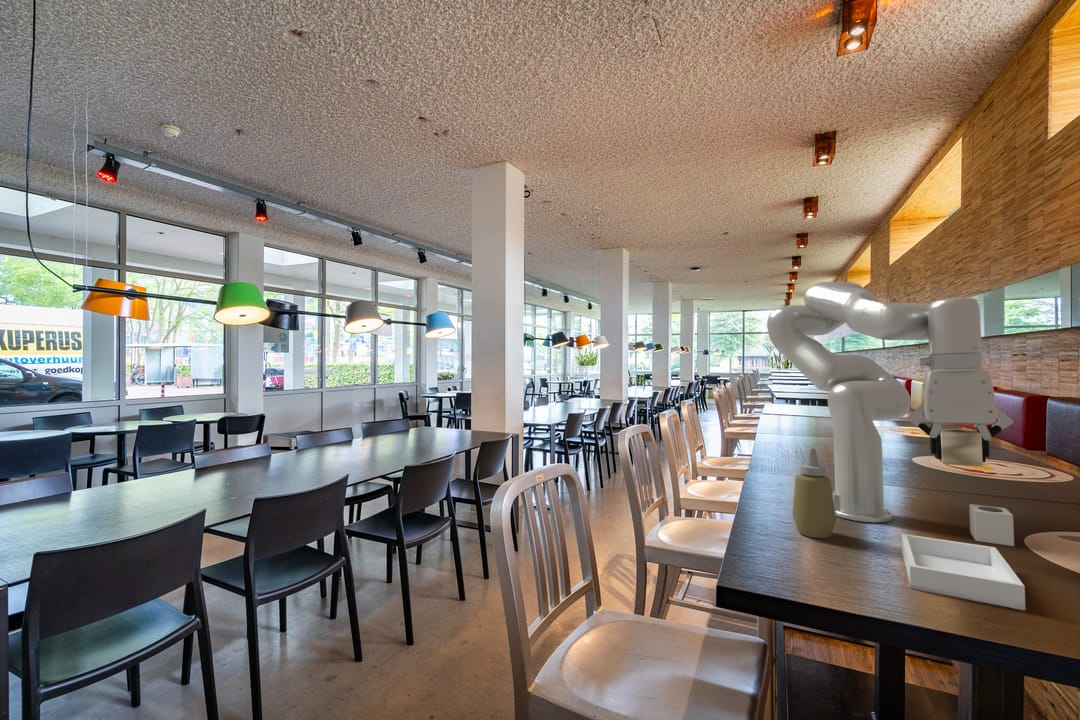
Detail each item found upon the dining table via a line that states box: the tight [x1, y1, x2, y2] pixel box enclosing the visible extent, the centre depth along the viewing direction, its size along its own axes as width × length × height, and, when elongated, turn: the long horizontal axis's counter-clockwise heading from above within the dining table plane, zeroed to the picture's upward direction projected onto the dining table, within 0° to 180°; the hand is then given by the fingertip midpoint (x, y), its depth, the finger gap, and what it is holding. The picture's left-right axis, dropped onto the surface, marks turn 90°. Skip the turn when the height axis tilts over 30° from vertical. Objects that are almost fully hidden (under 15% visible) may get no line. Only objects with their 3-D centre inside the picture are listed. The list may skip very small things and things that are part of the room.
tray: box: [900, 533, 1026, 611], centre depth 78 cm, size 13×17×4 cm
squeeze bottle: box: [792, 447, 837, 539], centre depth 99 cm, size 8×8×18 cm
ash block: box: [937, 428, 984, 467], centre depth 89 cm, size 6×6×6 cm
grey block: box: [968, 503, 1015, 547], centre depth 95 cm, size 6×6×6 cm
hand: (959, 458), depth 89 cm, fingers closed on ash block, 5 cm apart
